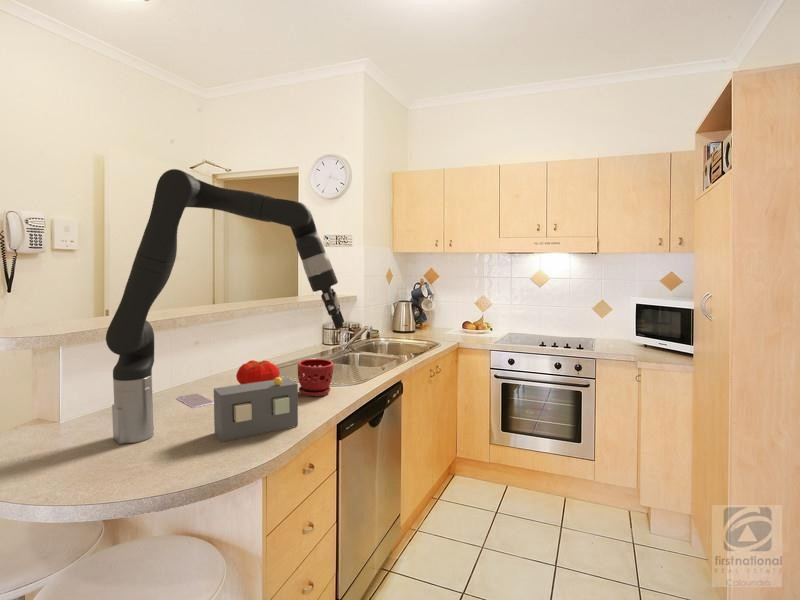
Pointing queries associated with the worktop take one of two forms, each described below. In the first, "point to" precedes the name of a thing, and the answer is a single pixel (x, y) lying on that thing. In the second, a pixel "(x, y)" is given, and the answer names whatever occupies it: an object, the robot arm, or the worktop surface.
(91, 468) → the worktop surface
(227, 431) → the keypad console
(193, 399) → the mobile phone
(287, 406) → the key sage
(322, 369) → the plant pot
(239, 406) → the block
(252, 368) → the tomato
